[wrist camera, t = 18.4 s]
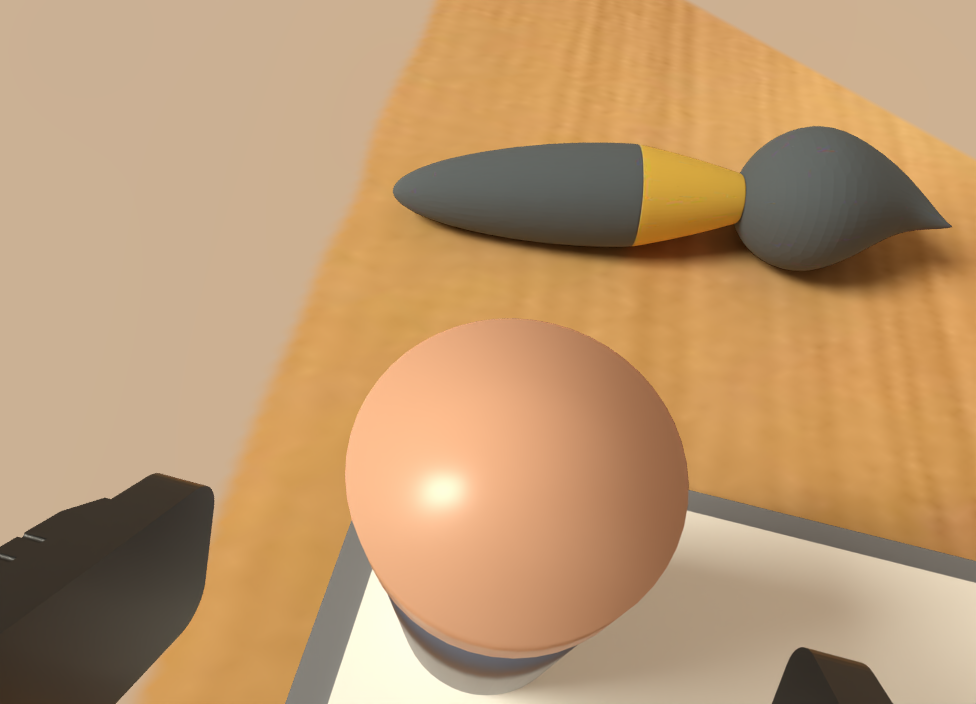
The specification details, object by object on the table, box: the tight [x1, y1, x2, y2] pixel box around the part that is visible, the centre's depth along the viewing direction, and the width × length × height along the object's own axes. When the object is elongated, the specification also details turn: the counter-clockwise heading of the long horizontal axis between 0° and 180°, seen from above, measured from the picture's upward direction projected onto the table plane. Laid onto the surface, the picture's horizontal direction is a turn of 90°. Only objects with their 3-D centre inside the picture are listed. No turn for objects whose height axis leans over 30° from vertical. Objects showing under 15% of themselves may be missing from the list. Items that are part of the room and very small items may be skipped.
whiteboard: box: [285, 490, 976, 704], centre depth 16 cm, size 20×9×1 cm, turn 76°
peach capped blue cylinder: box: [345, 318, 689, 695], centre depth 12 cm, size 4×4×10 cm
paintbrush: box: [393, 126, 952, 271], centre depth 23 cm, size 20×5×5 cm, turn 91°
